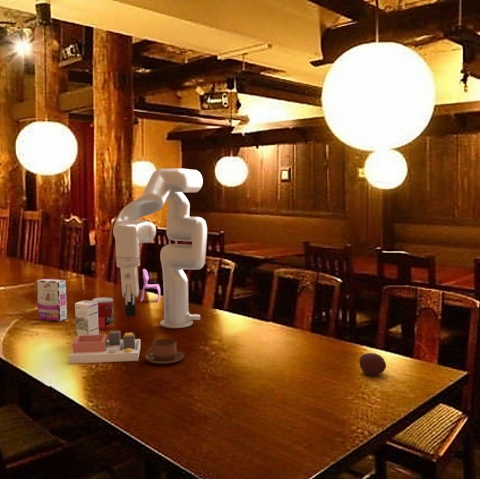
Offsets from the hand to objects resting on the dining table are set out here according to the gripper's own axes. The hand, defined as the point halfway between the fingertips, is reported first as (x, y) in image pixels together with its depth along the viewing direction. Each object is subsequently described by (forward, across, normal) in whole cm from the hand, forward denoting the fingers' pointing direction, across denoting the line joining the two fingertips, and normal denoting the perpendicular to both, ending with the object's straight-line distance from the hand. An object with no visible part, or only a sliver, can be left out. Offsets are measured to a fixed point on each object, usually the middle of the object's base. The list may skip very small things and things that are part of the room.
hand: (130, 315), depth 192 cm
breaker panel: (+12, -4, +8) cm, 15 cm away
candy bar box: (+13, +48, +35) cm, 61 cm away
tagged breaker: (+9, -6, +1) cm, 11 cm away
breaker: (+9, 0, +6) cm, 11 cm away
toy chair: (+15, +80, -3) cm, 81 cm away
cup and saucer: (+12, -13, -11) cm, 20 cm away
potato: (+12, -34, -71) cm, 79 cm away
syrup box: (+12, +11, +16) cm, 23 cm away
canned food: (+13, +32, +13) cm, 37 cm away
